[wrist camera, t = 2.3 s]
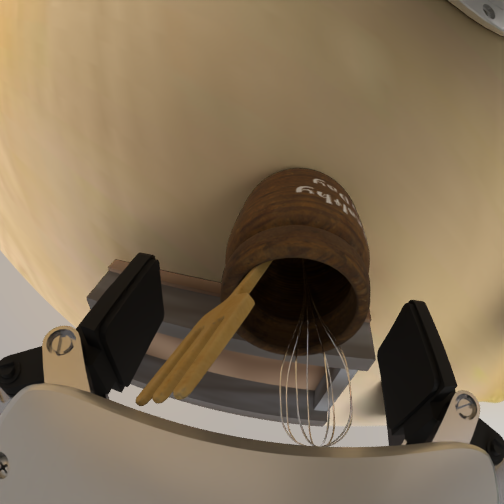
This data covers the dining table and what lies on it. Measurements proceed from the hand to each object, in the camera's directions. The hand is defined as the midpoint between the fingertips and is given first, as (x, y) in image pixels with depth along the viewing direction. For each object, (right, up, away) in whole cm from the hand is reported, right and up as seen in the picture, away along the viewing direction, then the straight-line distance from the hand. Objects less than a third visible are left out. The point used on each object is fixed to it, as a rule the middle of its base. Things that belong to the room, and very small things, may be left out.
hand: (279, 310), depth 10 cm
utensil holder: (+2, +4, +5) cm, 7 cm away
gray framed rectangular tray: (-3, -5, +11) cm, 12 cm away
